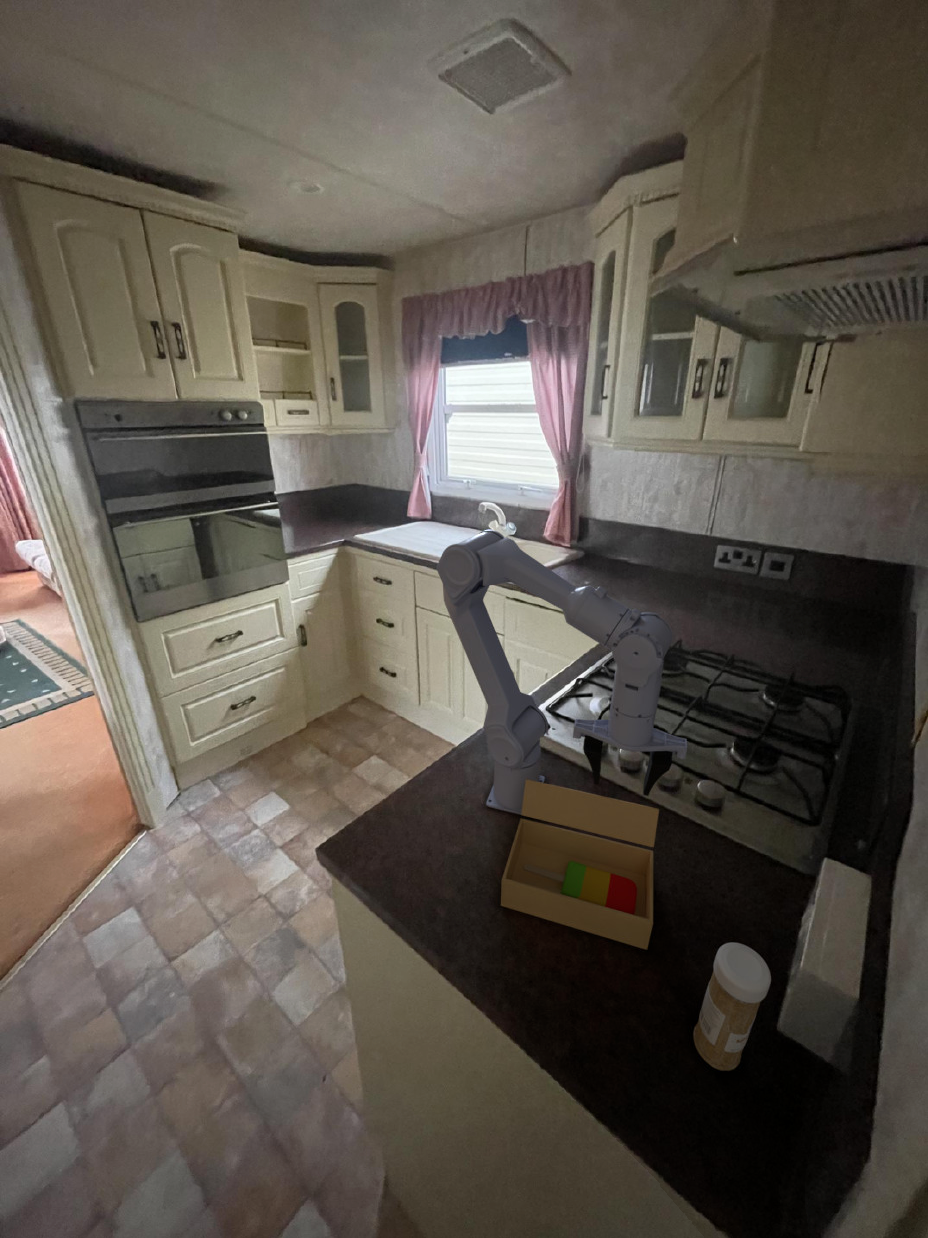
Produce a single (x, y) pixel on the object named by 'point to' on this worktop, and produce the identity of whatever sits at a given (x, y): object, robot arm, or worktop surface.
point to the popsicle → (593, 886)
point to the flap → (590, 812)
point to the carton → (553, 854)
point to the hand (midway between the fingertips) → (621, 785)
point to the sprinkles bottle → (730, 1005)
